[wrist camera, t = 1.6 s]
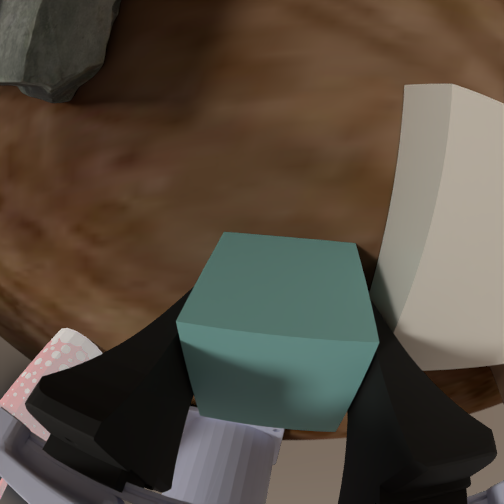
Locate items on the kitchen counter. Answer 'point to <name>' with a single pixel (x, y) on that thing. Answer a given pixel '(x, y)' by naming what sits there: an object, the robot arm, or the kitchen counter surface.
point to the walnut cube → (499, 377)
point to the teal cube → (278, 332)
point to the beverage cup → (46, 362)
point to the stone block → (53, 44)
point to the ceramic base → (446, 231)
